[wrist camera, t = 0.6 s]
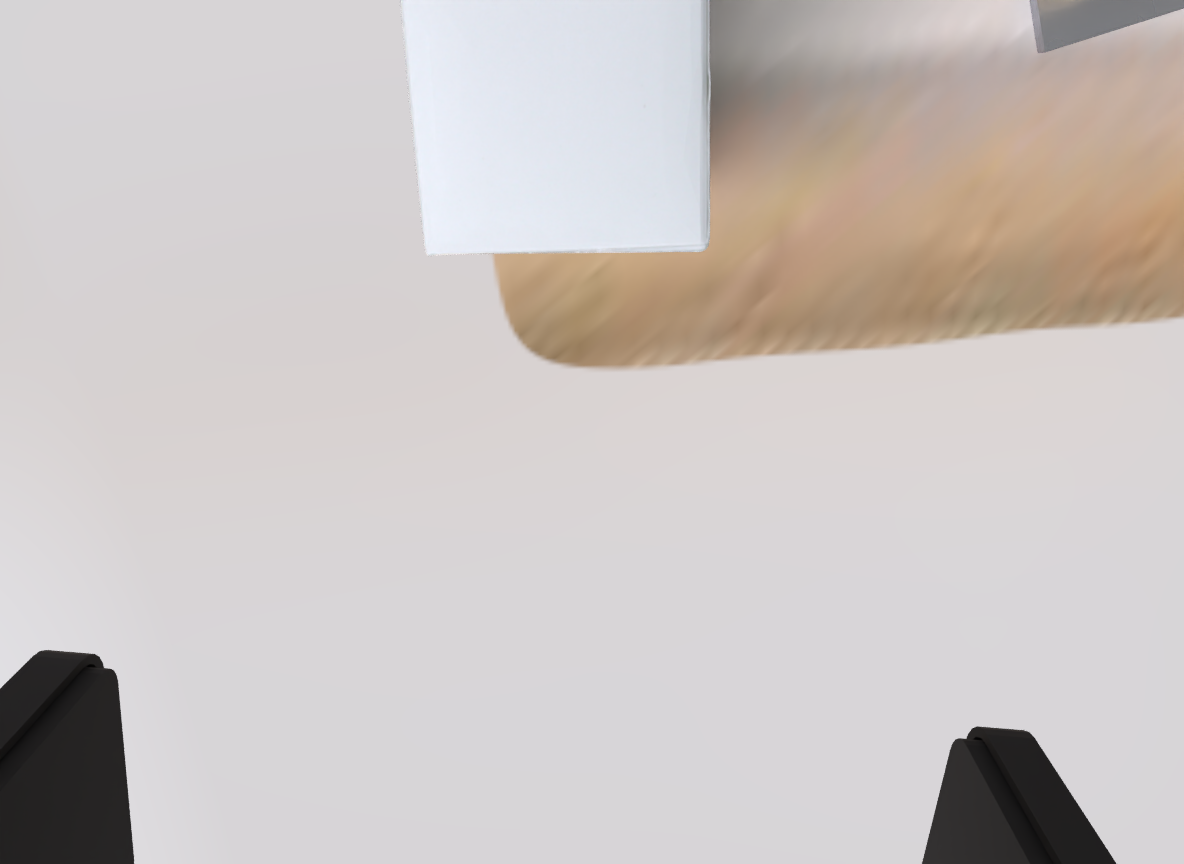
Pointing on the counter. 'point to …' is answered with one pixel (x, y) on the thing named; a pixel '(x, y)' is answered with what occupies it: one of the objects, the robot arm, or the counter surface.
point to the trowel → (1090, 18)
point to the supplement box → (560, 124)
